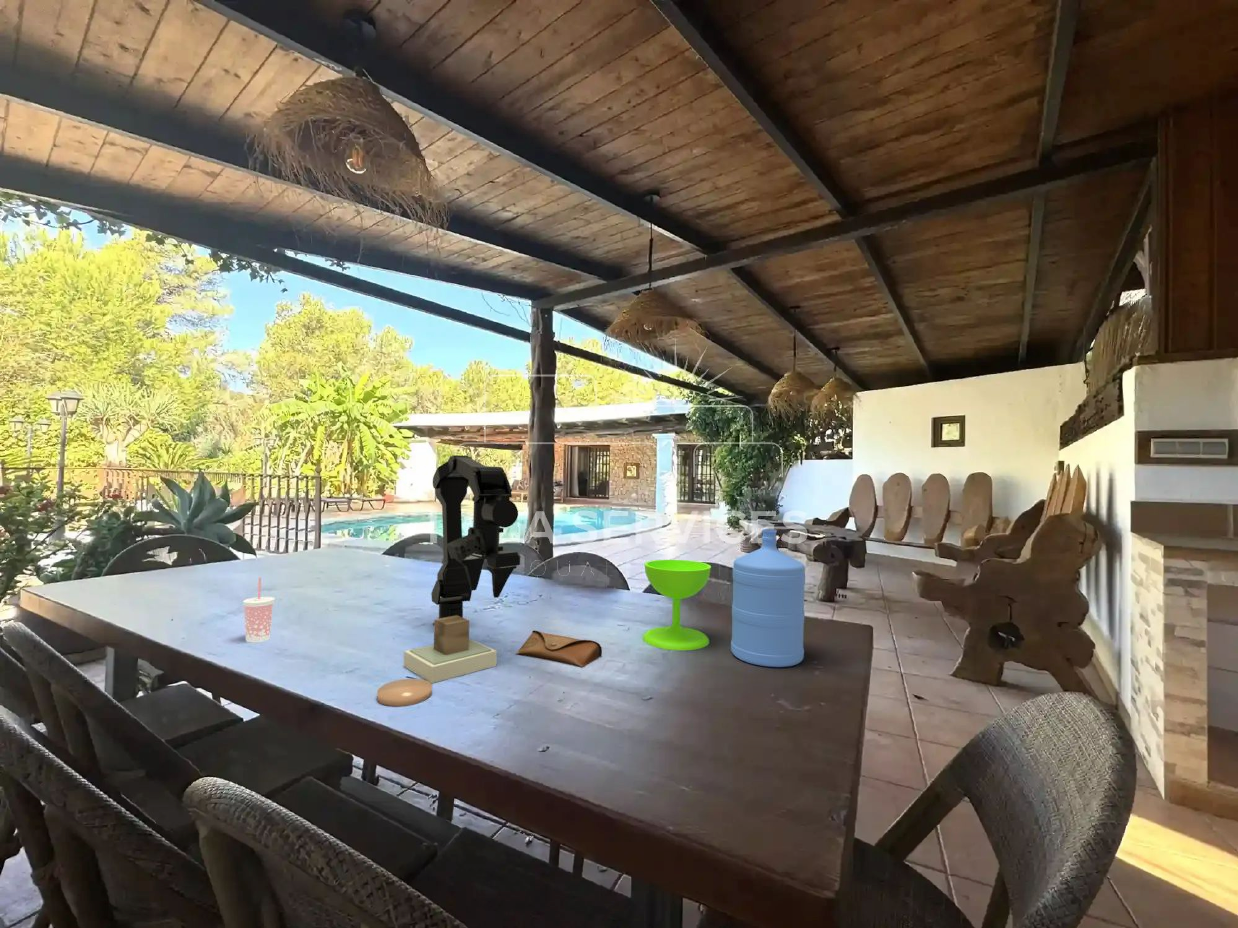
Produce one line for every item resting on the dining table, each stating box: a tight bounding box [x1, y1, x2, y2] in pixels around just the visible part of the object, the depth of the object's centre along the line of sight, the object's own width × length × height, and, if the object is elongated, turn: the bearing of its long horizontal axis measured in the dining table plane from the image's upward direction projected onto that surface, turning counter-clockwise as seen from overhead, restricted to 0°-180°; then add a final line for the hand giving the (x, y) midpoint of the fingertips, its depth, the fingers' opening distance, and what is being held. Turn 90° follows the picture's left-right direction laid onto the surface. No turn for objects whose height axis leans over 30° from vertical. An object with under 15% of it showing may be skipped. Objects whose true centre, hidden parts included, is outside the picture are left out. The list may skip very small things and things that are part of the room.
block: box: [433, 615, 470, 655], centre depth 112 cm, size 5×5×6 cm
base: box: [403, 638, 498, 684], centre depth 112 cm, size 12×14×3 cm
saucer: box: [376, 678, 433, 707], centre depth 97 cm, size 9×9×1 cm
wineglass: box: [642, 559, 712, 651], centre depth 133 cm, size 16×16×18 cm
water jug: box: [730, 529, 806, 668], centre depth 123 cm, size 16×16×28 cm
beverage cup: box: [242, 577, 276, 643], centre depth 126 cm, size 6×6×14 cm
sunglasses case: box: [514, 629, 603, 668], centre depth 120 cm, size 18×7×7 cm
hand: (484, 593), depth 122 cm, fingers open, 9 cm apart
